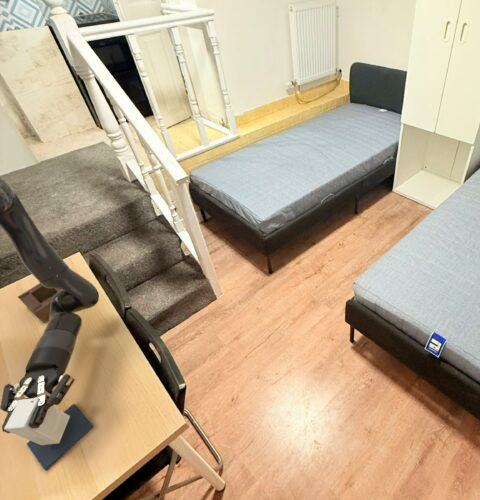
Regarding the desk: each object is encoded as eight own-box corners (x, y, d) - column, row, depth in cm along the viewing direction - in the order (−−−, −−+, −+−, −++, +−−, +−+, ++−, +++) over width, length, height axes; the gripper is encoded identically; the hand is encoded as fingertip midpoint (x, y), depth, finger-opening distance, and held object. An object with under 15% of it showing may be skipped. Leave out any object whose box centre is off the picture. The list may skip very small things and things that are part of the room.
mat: (46, 470, 74) (44, 469, 74) (28, 444, 78) (26, 443, 78) (93, 426, 80) (92, 425, 80) (75, 404, 84) (73, 403, 84)
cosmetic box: (52, 418, 80) (18, 398, 71) (71, 416, 80) (39, 396, 71) (40, 446, 75) (2, 429, 67) (59, 444, 75) (24, 427, 67)
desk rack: (43, 322, 102) (33, 313, 99) (27, 306, 107) (17, 296, 104) (79, 298, 109) (71, 288, 105) (63, 283, 114) (54, 274, 110)
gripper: (10, 350, 77) (-32, 430, 65) (75, 340, 78) (46, 416, 66) (31, 365, 82) (-4, 441, 70) (92, 355, 84) (67, 428, 72)
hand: (20, 429), depth 68 cm, fingers closed on cosmetic box, 4 cm apart
